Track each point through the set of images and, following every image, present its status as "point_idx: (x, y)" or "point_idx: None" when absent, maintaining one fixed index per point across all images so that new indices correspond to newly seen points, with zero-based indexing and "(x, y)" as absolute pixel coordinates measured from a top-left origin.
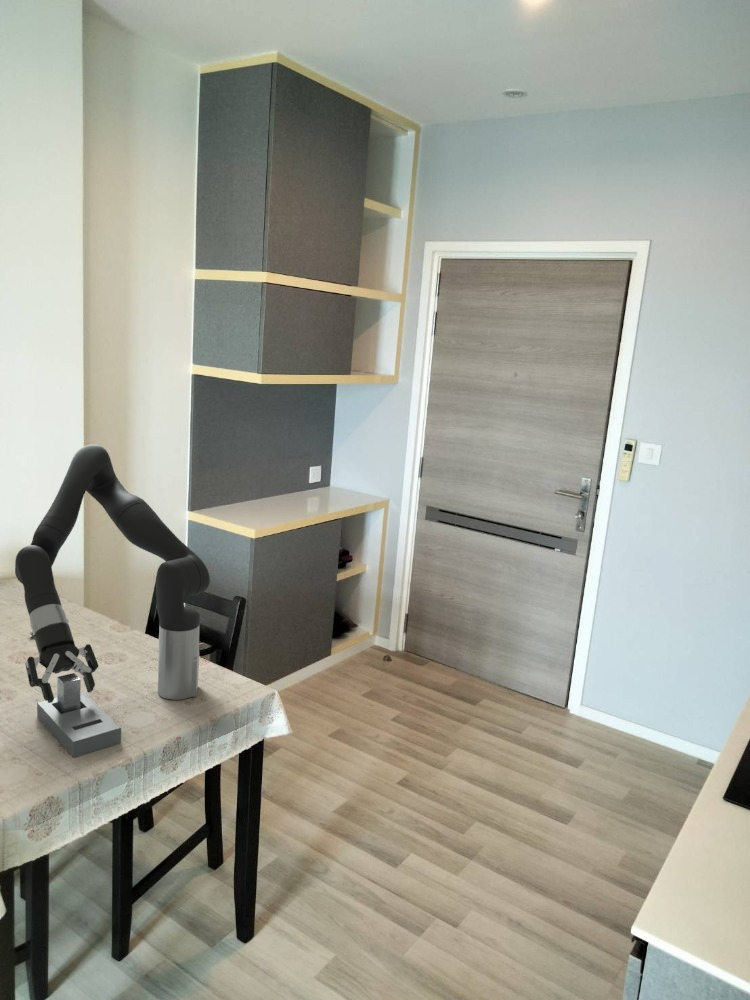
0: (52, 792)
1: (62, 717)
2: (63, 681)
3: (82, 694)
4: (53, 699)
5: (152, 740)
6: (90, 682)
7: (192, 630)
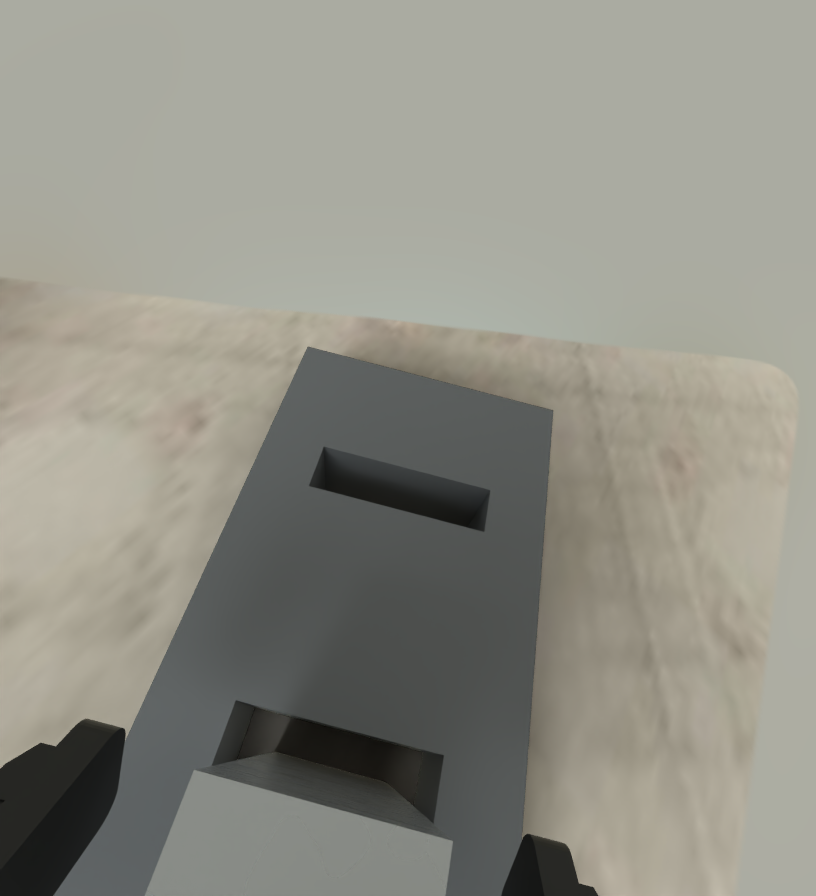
0: (667, 352)
1: (463, 692)
2: None
3: None
4: (528, 836)
5: (216, 328)
6: (40, 787)
7: None
